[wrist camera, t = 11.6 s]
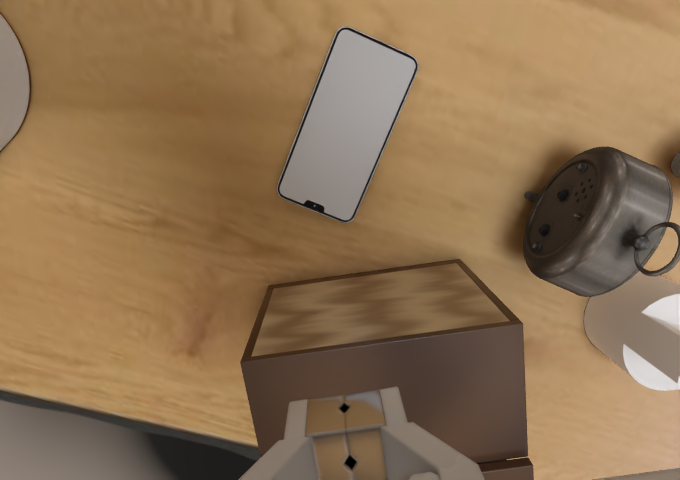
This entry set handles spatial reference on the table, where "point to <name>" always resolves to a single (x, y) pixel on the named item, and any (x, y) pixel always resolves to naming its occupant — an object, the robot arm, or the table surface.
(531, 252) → the alarm clock
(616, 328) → the base with upright slab
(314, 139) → the smartphone
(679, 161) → the olive green rounded piece
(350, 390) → the brown wooden cabinet
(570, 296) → the table surface
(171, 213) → the table surface
